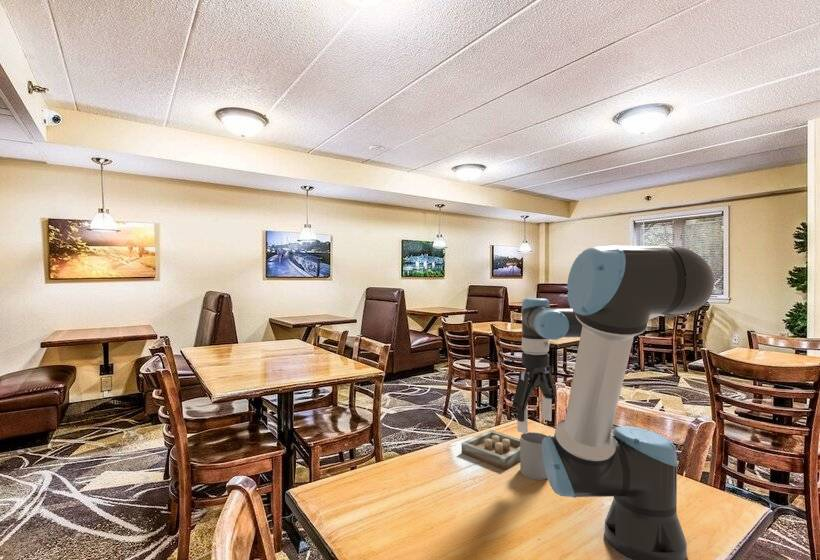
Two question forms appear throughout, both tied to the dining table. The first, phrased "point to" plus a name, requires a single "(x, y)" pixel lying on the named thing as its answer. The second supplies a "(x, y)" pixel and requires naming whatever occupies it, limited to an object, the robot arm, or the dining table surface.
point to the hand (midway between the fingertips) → (535, 425)
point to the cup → (532, 456)
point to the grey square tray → (493, 449)
